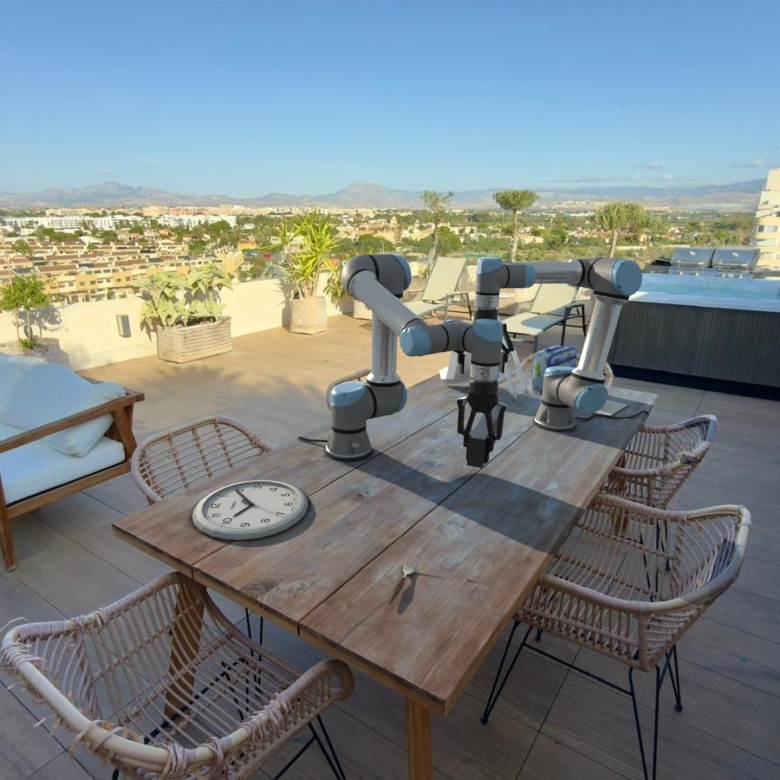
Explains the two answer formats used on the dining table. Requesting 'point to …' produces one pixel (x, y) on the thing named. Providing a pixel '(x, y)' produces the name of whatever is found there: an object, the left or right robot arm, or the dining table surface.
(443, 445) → the dining table surface
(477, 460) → the bar
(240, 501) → the wall clock
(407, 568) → the fork
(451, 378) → the white plastic object
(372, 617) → the dining table surface
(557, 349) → the lunch box
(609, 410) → the invitation card
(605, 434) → the dining table surface
